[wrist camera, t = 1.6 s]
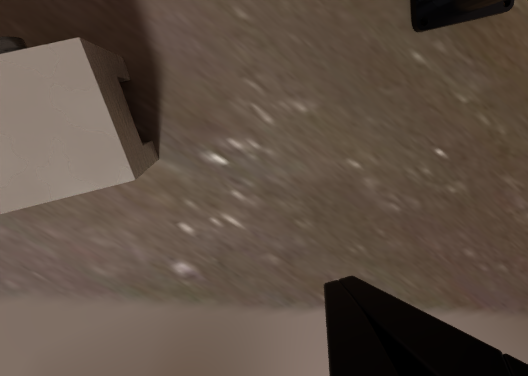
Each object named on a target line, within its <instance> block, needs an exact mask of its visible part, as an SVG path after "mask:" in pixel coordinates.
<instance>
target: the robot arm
mask: <svg viewBox="0 0 528 376" xmlns="http://www.w3.org/2000/svg"><path fill="white" fill-rule="evenodd" d="M503 2H504V3H505V4H504V5H503ZM513 5H514V0H411V8H412V26H413V29H414V31H416V32H423V31H428V30H432V29H436V28H441V27H445V26H449V25H453V24H458V23H462V22H466V21H471V20H475V19H479V18H484V17H488V16H492V15H497V14H501V13H504V12H507V11H509V10H510V9H511V8H512V7H513ZM421 19H422V20H423V22H424V24H423V26H422V25H421V23H420V21H421ZM324 296H325V311H326V327H327V341H328V358H329V372H330V376H528V364H526V363H524V362H522V361H520V360H518V359H516V358H514V357H512V356H510V355H508V354H502V352H501V351H500V350H498V349H496V348H494V347H492V346H490V345H488V344H486V343H484V342H482V341H480V340H478V339H476V338H475V337H472V336H471V335H469V334H467V333H465V332H463V331H461V330H459V329H457V328H455V327H453V326H451V325H449V324H447V323H445V322H443V321H441V320H439V319H437V318H435V317H433V316H431V315H429V314H427V313H425V312H423V311H421V310H420V309H418V308H416V307H414V306H412V305H410V304H408V303H406V302H404V301H402V300H400V299H398V298H396V297H394V296H392V295H390V294H388V293H386V292H384V291H382V290H380V289H378V288H376V287H374V286H372V285H370V284H368V283H366V282H364V281H363V280H361V279H359V278H357V277H355V276H348V277H345V278H341V279H339V280H334V281H331V282H327V283H325V284H324Z"/></svg>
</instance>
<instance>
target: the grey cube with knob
mask: <svg viewBox="0 0 528 376" xmlns="http://www.w3.org/2000/svg"><path fill="white" fill-rule="evenodd" d="M127 80H131V79H130V76H129V74H128V71H127V68H126V65H125V62H124V60H123V57H121V56H119V55H117V54H114V53H112V52H110V51H108V50H106V49H104V48H101V47H99V46H97V45H95V44H93V43H90V42H88V41H86V40H84V39H82V38H80V37H78V38H73V39H68V40H64V41H59V42H54V43H50V44H45V45H41V46H36V47H31V48H27V46H26V44H25V42H24V40H23V39H21V38H17V37H0V214H2V213H6V212H10V211H14V210H18V209H22V208H26V207H30V206H34V205H38V204H42V203H46V202H50V201H54V200H58V199H62V198H66V197H70V196H74V195H78V194H82V193H85V192H89V191H93V190H97V189H101V188H105V187H109V186H113V185H117V184H121V183H125V182H129V181H133V180H136V179H137V178H138V177H139V176H140V175H142V174H143V173H144V172H145V171H146V170H147V169H148V168H150V167H151V166H152V165H153V164H154V163H155V162H156V161H158V160H159V158H158V155H157V152H156V149H155V147H154V144H153V141H149V142H145V143H142V142H141V140H140V137H139V134H138V132H137V129H136V126H135V124H134V121H133V118H132V115H131V113H130V110H129V107H128V105H127V102H126V99H125V97H124V94H123V91H122V88H121V86H120V83H119V82H122V81H127Z"/></svg>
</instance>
